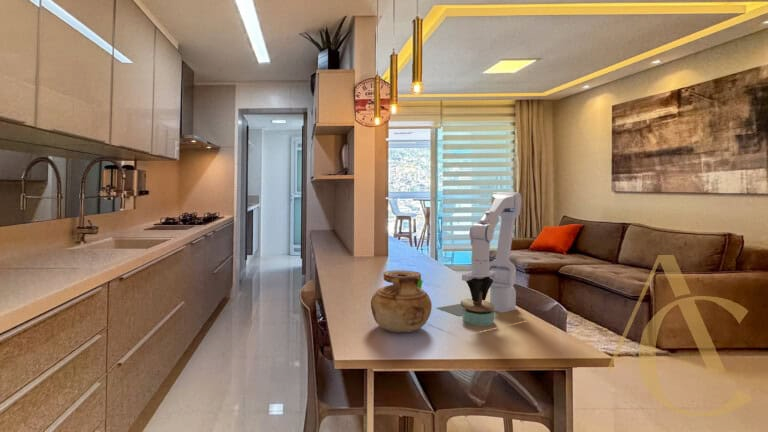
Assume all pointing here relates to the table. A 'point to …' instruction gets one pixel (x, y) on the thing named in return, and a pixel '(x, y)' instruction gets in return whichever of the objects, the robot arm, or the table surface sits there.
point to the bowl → (478, 317)
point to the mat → (453, 309)
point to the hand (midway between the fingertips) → (478, 300)
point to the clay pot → (401, 303)
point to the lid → (477, 304)
